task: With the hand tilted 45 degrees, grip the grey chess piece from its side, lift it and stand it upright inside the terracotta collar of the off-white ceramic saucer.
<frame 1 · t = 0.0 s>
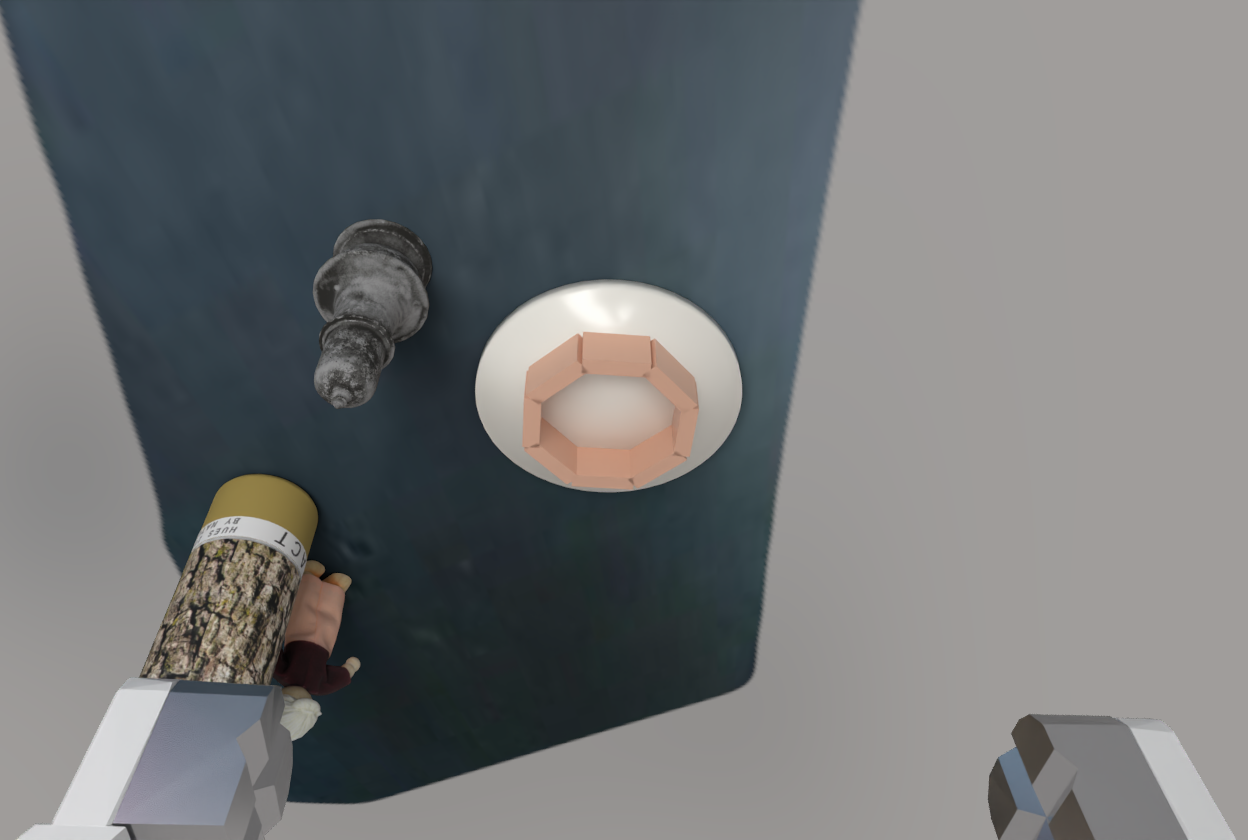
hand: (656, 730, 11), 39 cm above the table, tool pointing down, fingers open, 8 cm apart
grandmother figurine: (328, 578, 70), on the table
paper tube: (270, 501, 65), on the table
saucer: (609, 389, 58), on the table
grey chess piece: (383, 260, 52), on the table
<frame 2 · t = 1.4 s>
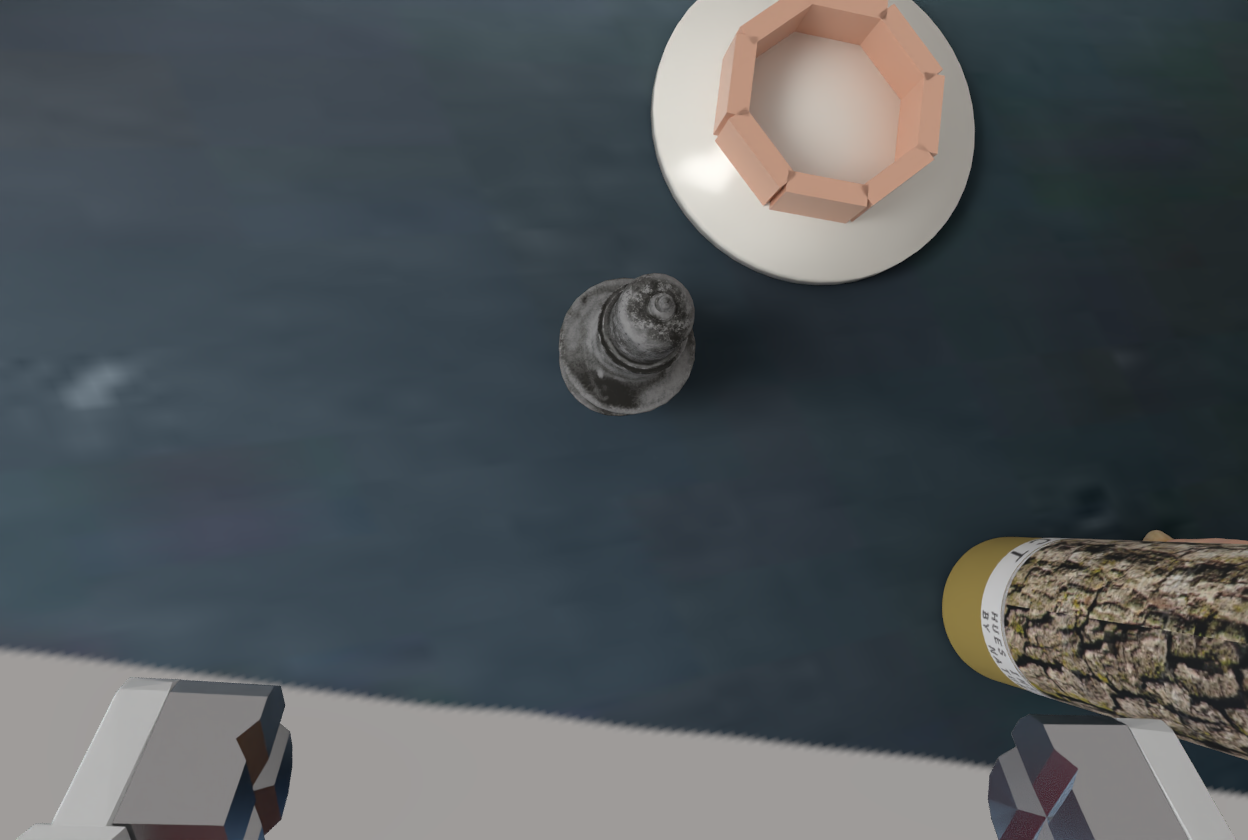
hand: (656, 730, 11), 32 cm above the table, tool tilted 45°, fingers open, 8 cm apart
grandmother figurine: (1154, 565, 47), on the table
paper tube: (999, 607, 46), on the table
saucer: (811, 125, 47), on the table
grey chess piece: (615, 359, 44), on the table
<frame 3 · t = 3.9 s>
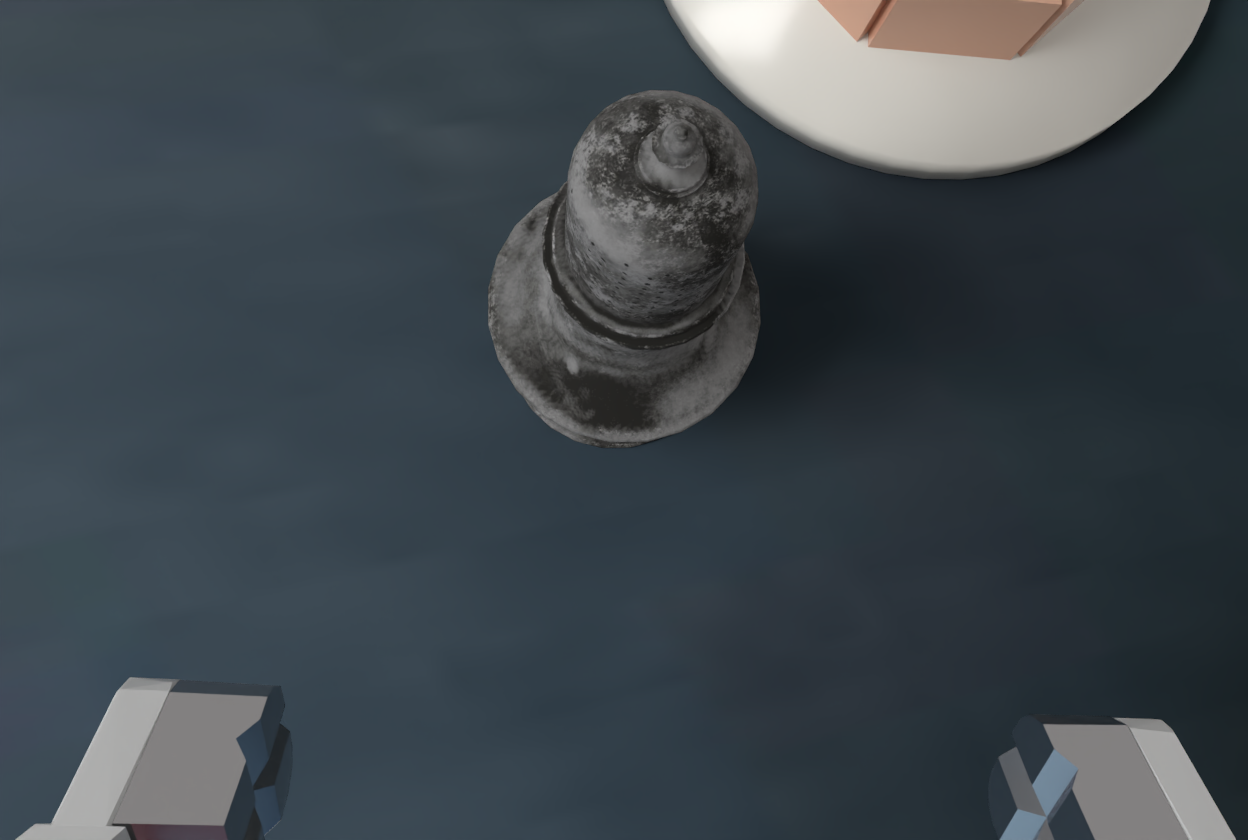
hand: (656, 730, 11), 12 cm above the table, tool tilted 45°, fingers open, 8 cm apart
grey chess piece: (613, 345, 24), on the table
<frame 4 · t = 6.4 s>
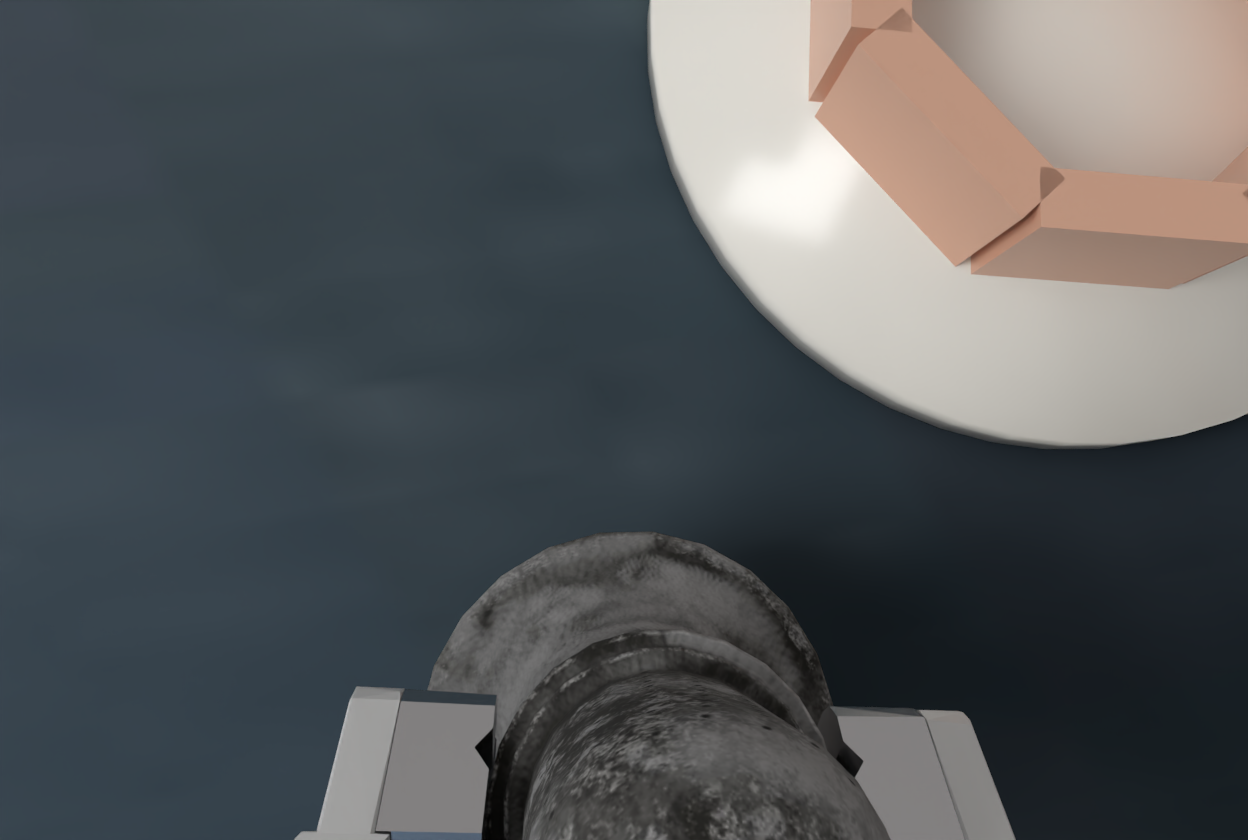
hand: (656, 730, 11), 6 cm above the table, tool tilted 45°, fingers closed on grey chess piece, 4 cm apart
saucer: (1038, 58, 19), on the table
grey chess piece: (611, 703, 17), on the table, touching gripper
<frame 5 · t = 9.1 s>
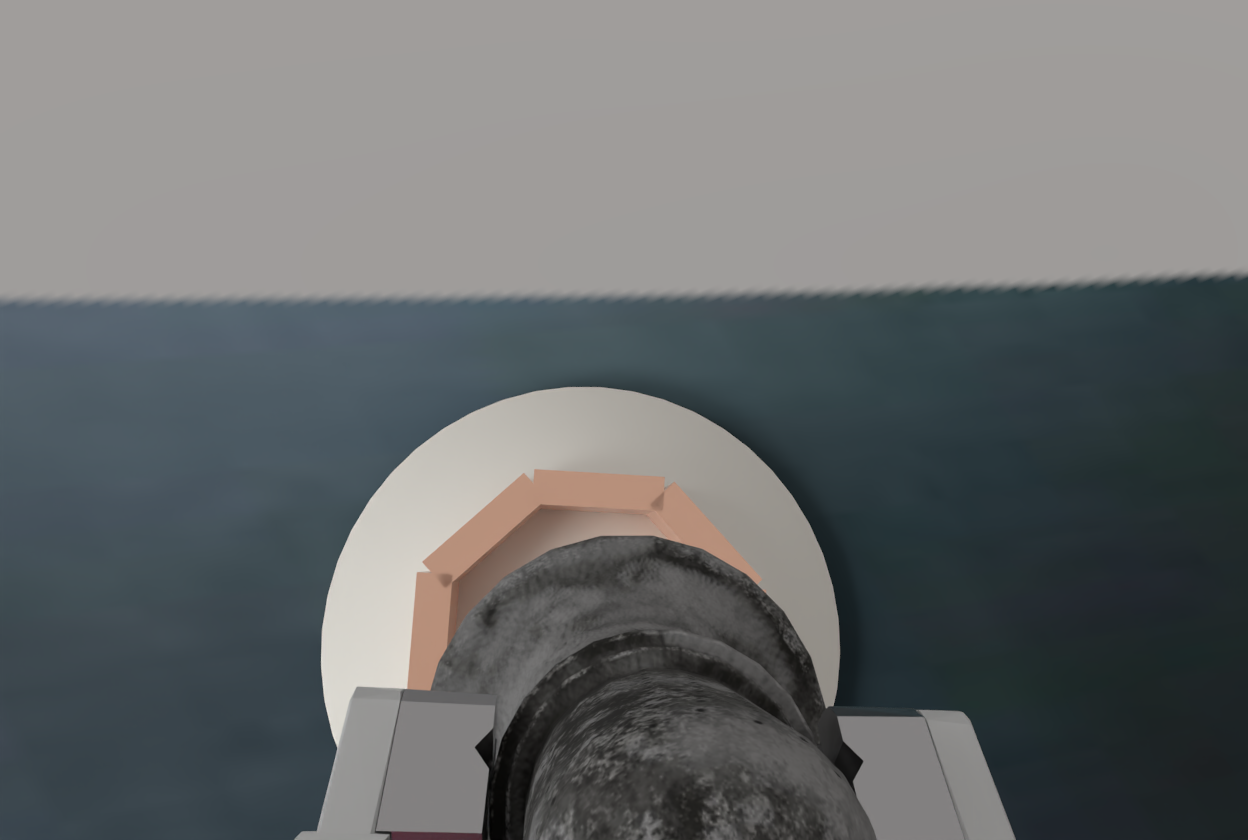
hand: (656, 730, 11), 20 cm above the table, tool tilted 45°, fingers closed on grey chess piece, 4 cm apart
saucer: (584, 639, 30), on the table
grey chess piece: (610, 703, 17), point 13 cm above the table, touching gripper
when the fingers open (9 cm above the table, at t = 12.0 s): grey chess piece stays where it is, resting on saucer.
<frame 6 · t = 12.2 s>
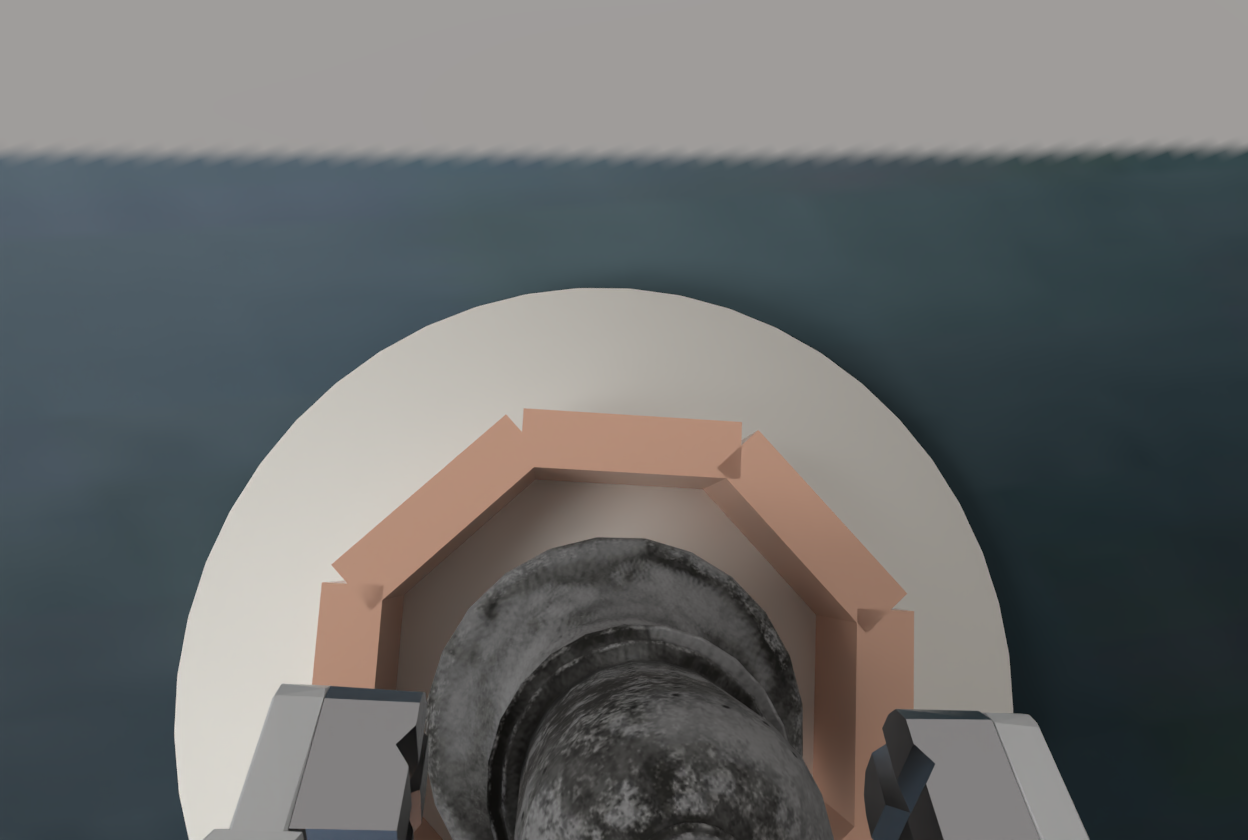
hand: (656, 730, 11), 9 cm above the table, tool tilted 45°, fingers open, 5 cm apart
saucer: (605, 686, 19), on the table
grey chess piece: (602, 695, 18), point 1 cm above the table, touching saucer
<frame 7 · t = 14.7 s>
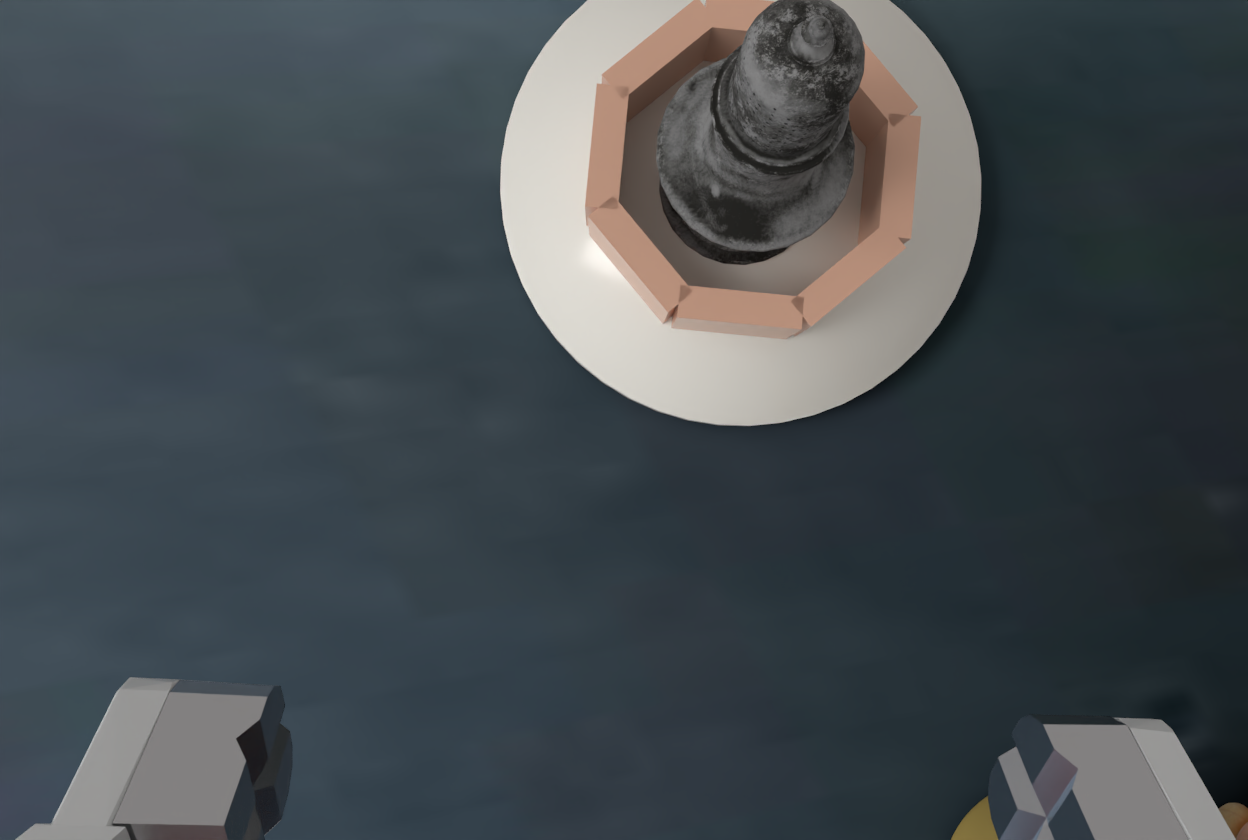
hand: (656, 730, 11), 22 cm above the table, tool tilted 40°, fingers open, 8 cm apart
saucer: (737, 192, 33), on the table
grey chess piece: (737, 187, 32), point 1 cm above the table, touching saucer
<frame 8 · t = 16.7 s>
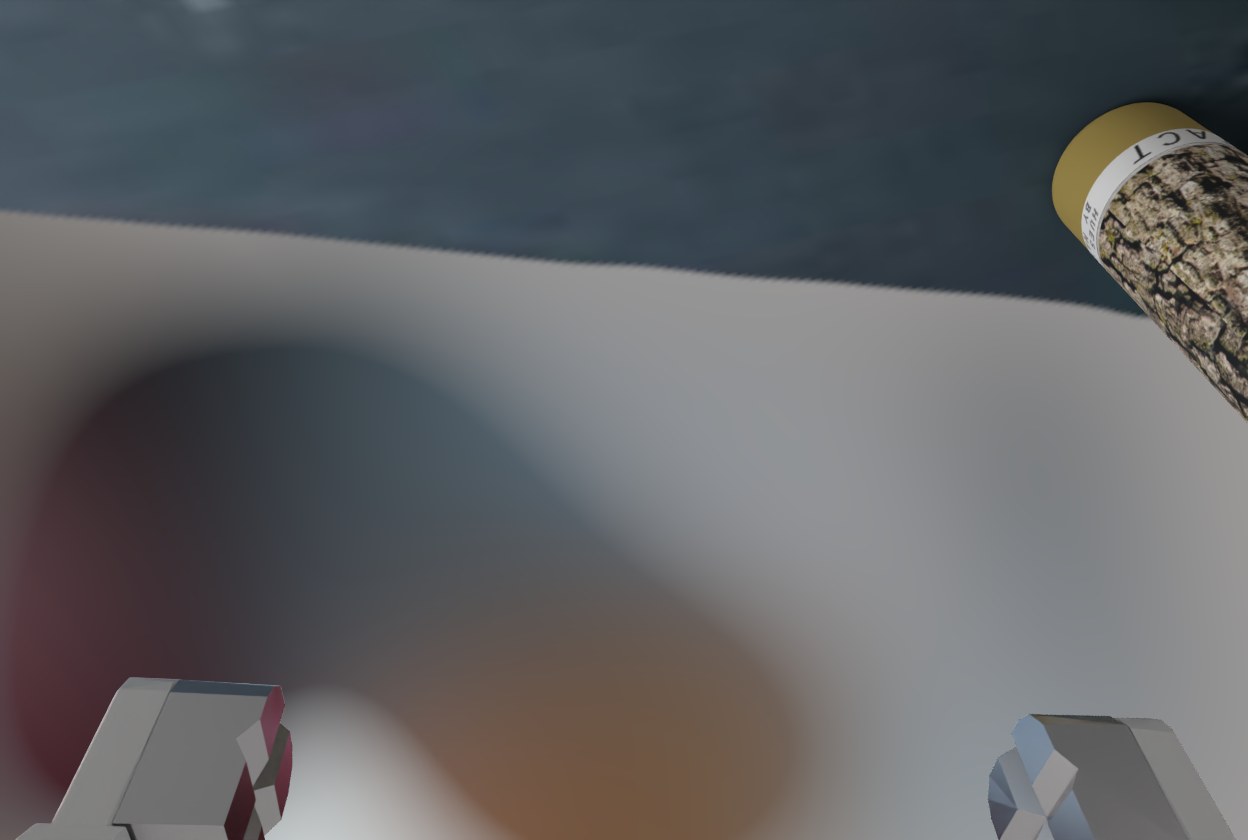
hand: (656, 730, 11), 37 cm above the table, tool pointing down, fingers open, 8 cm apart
paper tube: (1116, 166, 46), on the table
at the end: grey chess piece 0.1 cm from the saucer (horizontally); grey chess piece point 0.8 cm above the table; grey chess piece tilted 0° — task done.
